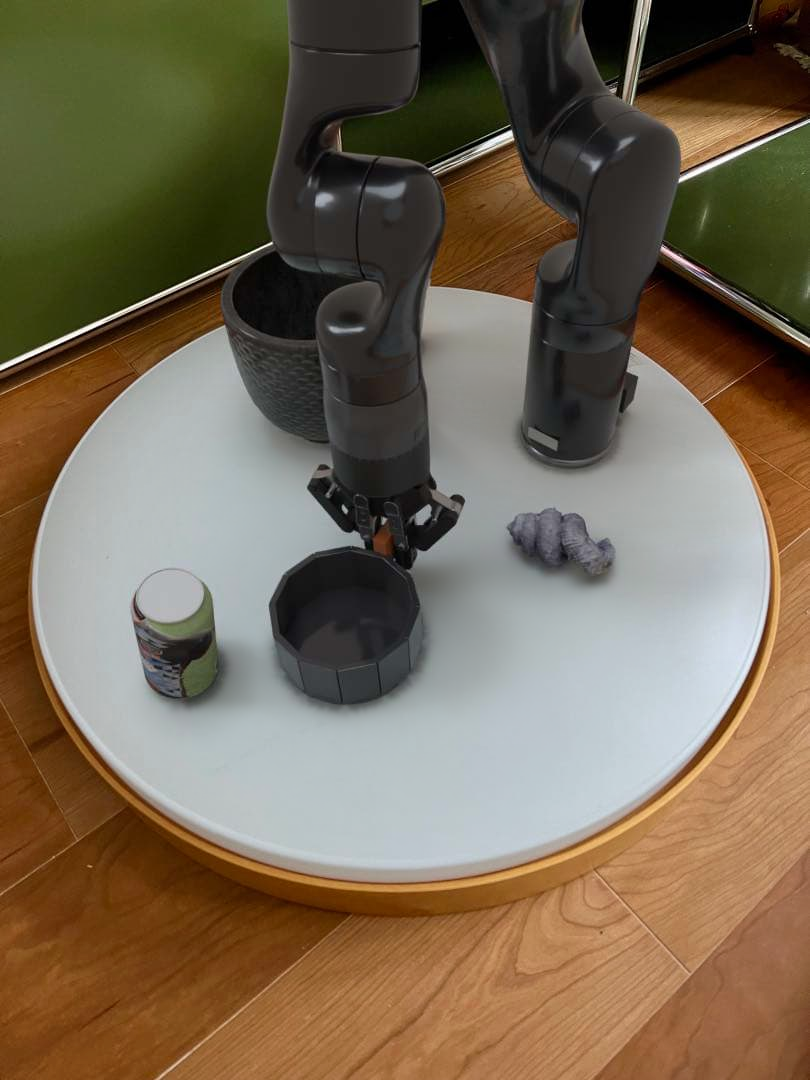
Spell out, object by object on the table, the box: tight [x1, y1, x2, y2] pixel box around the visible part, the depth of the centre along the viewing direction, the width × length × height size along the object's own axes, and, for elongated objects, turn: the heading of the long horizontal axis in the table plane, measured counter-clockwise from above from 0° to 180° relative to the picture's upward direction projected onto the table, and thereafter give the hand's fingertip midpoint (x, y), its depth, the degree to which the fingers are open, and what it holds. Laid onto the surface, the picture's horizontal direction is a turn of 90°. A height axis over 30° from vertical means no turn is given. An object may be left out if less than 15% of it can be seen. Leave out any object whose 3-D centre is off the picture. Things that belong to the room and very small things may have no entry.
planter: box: [220, 244, 364, 445], centre depth 88 cm, size 17×17×16 cm
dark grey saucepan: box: [268, 519, 423, 705], centre depth 75 cm, size 16×12×7 cm
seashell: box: [505, 506, 616, 577], centre depth 80 cm, size 5×5×10 cm
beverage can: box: [130, 567, 219, 700], centre depth 71 cm, size 6×7×12 cm
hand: (392, 562), depth 79 cm, fingers closed on dark grey saucepan
